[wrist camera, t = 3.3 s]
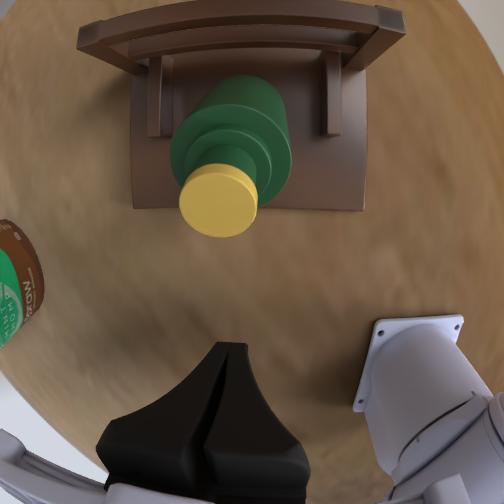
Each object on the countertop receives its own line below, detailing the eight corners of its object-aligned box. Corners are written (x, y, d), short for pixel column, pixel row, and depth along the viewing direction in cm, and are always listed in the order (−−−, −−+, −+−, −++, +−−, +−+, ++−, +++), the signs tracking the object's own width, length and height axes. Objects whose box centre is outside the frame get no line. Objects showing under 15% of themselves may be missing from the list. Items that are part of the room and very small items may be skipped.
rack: (361, 209, 17) (408, 242, 11) (137, 207, 18) (74, 236, 12) (360, 38, 14) (402, -11, 7) (137, 44, 15) (79, 6, 8)
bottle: (284, 150, 16) (292, 265, 10) (206, 151, 16) (160, 262, 10) (286, 74, 13) (302, 133, 7) (198, 77, 13) (126, 140, 7)
